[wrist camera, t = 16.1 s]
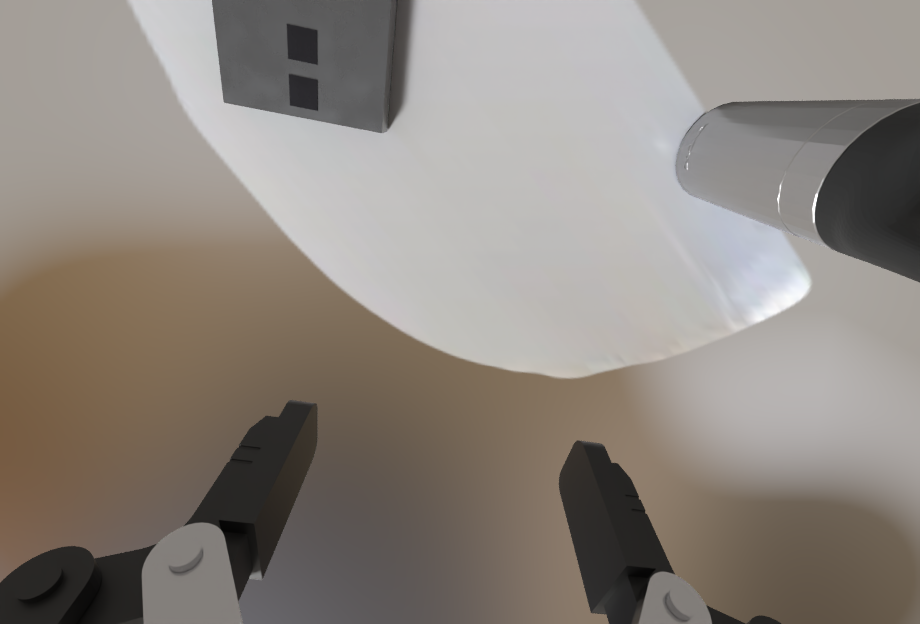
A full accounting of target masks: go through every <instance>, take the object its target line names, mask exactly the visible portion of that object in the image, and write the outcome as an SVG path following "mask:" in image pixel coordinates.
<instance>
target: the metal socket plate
mask: <svg viewBox="0 0 920 624" xmlns="http://www.w3.org/2000/svg"><path fill="white" fill-rule="evenodd" d="M212 5H213V13H214V22H215V31H216V39H217V48H218V56H219V65H220V74H221V82H222V91H223V99H224V103H229V104H234V105H240V106H245V107H250V108H255V109H260V110H265V111H270V112H276V113H281V114H286V115H291V116H296V117H301V118H306V119H312V120H317V121H322V122H327V123H332V124H337V125H342V126H348V127H353V128H358V129H363V130H368V131H373V132H378V133H384V132H386V131H387V128H388V114H389V101H390V87H391V74H392V60H393V47H394V33H395V20H396V6H397V0H212Z"/></svg>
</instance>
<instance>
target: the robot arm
mask: <svg viewBox="0 0 920 624" xmlns="http://www.w3.org/2000/svg"><path fill="white" fill-rule="evenodd" d="M676 174H677V177H678V180H679V183H680V184H681V186H682V187H683V189H684V190H685V191H686V192H688V193H689V194H690V195H692V196H695V197H697V198H699V199H702V200H705V201H707V202H710V203H712V204H715V205H717V206H720V207H722V208H725V209H727V210H730V211H733V212H735V213H738V214H741V215H743V216H746V217H748V218H751V219H754V220H756V221H759V222H761V223H764V224H767V225H769V226H772V227H774V228H777V229H780V230H782V231H785V232H787V233H790V234H793V235H795V236H798V237H801V238H804V239H807V240H809V241H812V242H814V243H817V244H819V245H822V246H825V247H828V248H830V249H833V250H835V251H837V252H840V253H843V254H845V255H848V256H851V257H854V258H857V259H860V260H863V261H865V262H868V263H871V264H873V265H876V266H879V267H881V268H884V269H887V270H889V271H892V272H895V273H897V274H900V275H902V276H905V277H907V278H910V279H912V280H915V281H918V282H920V99H894V100H893V99H889V100H840V101H839V100H836V101H758V102H731V103H727V104H723V105H721V106H718V107H716V108H714V109H712V110H711V111H709V112H708V113H706V114H705V115H703V116H702V117H701V118H700V119H699V120H698V121H697V122H696V123H695V124H694V125H693V126H692V127H691V129H690V130H689V131H688V133H687V134H686V135H685V137H684V139H683V141H682V143H681V145H680V148H679V151H678V154H677V160H676ZM316 446H317V404H316V403H308V402H302V401H294V400H290V401H289V402H288V403H287V404H286V406H285V407H284V409H283V411H282V413H281V415H280V416H279V417H271V416H265V417H264V418H263V419H262V420H260V421H259V422H258V423H256V424H255V425H254V426H253V427H251V428H250V429H249V431H248V432H247V434H246V435H245V437H244V438H243V440H242V441H241V443H240V444H239V448H237V449H236V450H235V452H234V454H233V455H232V457H231V458H230V462H228V463H227V464H226V466H225V467H224V469H223V470H222V472H221V474H220V475H219V476H218V478H217V480H216V481H215V482H214V484H213V486H212V487H211V489H210V490H209V492H208V493H207V495H206V496H205V498H204V499H203V501H202V502H201V504H200V505H199V507H198V508H197V510H196V512H195V513H194V515H193V516H192V517H191V519H190V520H189V521H188V522H187V523H186V524H185V525H184V526H183V527H181V528H179V529H177V530H175V531H173V532H172V533H170V534H168V535H167V536H166V537H164V538H163V539H162V540H161V541H160V542H159V543H157V544H155V545H152V546H150V547H147V548H143V549H139V550H134V551H130V552H125V553H120V554H115V555H110V556H105V557H101V558H96V559H94V557H93V556H92V554H91V553H90V552H89V551H88V550H86V549H84V548H82V547H76V546H68V547H61V548H57V549H54V550H50V551H48V552H45V553H43V554H40V555H38V556H36V557H34V558H32V559H30V560H29V561H27V562H25V563H24V564H22V565H21V566H19V567H18V568H17V569H15V570H14V571H13V572H11V573H10V574H9V575H8V576H7V577H6V578H5V579H4V580H3V581H2V582H1V583H0V624H243V621H242V617H241V611H240V607H239V602H238V601H239V599H240V597H241V594H242V592H243V590H244V588H245V585H246V584H247V581H248V579H257V580H262V579H263V577H264V574H265V572H266V570H267V567H268V565H269V563H270V560H271V558H272V556H273V553H274V551H275V548H276V546H277V544H278V541H279V539H280V537H281V534H282V532H283V529H284V527H285V525H286V522H287V520H288V517H289V515H290V513H291V510H292V508H293V506H294V503H295V501H296V498H297V496H298V493H299V491H300V489H301V486H302V484H303V482H304V479H305V477H306V475H307V472H308V470H309V467H310V465H311V463H312V460H313V457H314V454H315V450H316ZM559 490H560V494H561V498H562V502H563V506H564V510H565V514H566V518H567V522H568V525H569V529H570V533H571V537H572V541H573V544H574V548H575V553H576V556H577V560H578V564H579V568H580V571H581V576H582V580H583V584H584V588H585V591H586V595H587V599H588V603H589V607H590V611H591V613H597V614H607V618H608V621H609V624H745V623H743V622H741V621H739V620H736V619H734V618H732V617H730V616H728V615H726V614H723V613H721V612H719V611H717V610H715V609H713V608H710V607H709V606H707V605H705V603H704V601H703V600H702V598H701V597H700V595H699V594H698V593H697V592H696V591H695V590H694V588H693V587H692V586H691V585H689V584H688V583H687V582H686V581H685V580H683V579H682V578H680V577H678V576H676V575H675V573H674V572H673V570H672V568H671V566H670V563H669V561H668V559H667V557H666V555H665V552H664V550H663V548H662V546H661V544H660V541H659V539H658V537H657V535H656V533H655V531H654V528H653V526H652V524H651V522H650V520H649V517H648V515H647V514H645V509H644V506H643V504H642V502H641V500H639V496H638V493H637V491H636V489H635V487H634V485H633V482H632V480H631V479H630V477H629V476H628V475H627V474H626V473H625V471H624V470H623V469H622V468H621V467H620V466H619V464H617V463H611V460H610V458H609V456H608V453H607V451H606V449H605V447H604V446H603V445H602V444H600V443H593V442H586V441H576V442H575V443H574V445H573V447H572V449H571V451H570V453H569V455H568V457H567V460H566V461H565V464H564V466H563V468H562V470H561V473H560V477H559ZM746 624H781V623H779V622H778V621H776V620H774V619H772V618H770V617H766V616H756V617H754V618H752V619H751V620H750V621H749V622H748V623H746Z"/></svg>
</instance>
